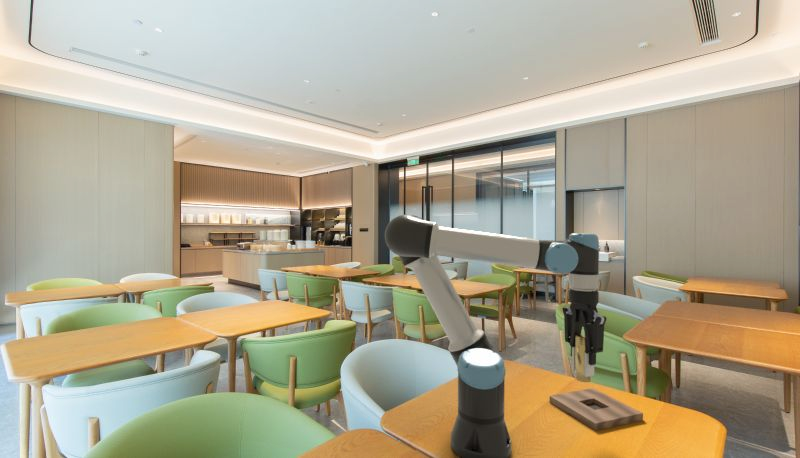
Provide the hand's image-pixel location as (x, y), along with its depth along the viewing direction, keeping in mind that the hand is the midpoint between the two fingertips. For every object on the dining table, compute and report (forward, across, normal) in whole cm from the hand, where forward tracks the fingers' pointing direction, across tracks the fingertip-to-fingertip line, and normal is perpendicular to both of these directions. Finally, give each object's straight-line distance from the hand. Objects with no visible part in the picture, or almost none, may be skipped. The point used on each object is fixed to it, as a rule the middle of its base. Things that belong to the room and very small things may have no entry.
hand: (582, 372), depth 106 cm
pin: (+2, 0, 0) cm, 2 cm away
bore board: (+16, +7, -11) cm, 21 cm away
